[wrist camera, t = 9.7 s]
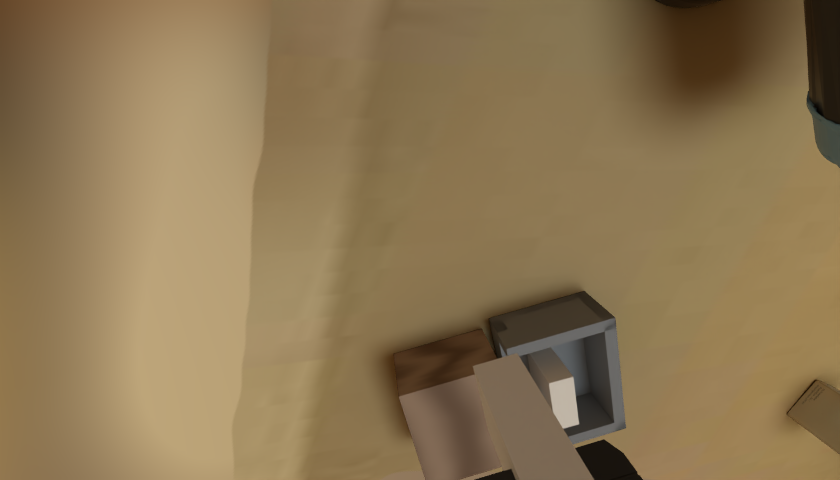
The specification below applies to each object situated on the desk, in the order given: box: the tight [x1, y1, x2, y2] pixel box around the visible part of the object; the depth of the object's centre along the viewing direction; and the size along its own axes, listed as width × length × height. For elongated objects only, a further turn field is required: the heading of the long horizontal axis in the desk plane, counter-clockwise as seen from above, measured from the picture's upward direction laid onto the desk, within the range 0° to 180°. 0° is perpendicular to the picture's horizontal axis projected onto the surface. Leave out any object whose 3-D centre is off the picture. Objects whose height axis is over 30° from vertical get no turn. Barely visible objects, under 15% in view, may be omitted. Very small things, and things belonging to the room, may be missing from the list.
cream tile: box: [527, 347, 579, 429], centre depth 45 cm, size 6×6×2 cm
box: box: [489, 291, 626, 444], centre depth 46 cm, size 11×14×6 cm
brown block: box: [394, 329, 502, 480], centre depth 45 cm, size 10×12×7 cm
